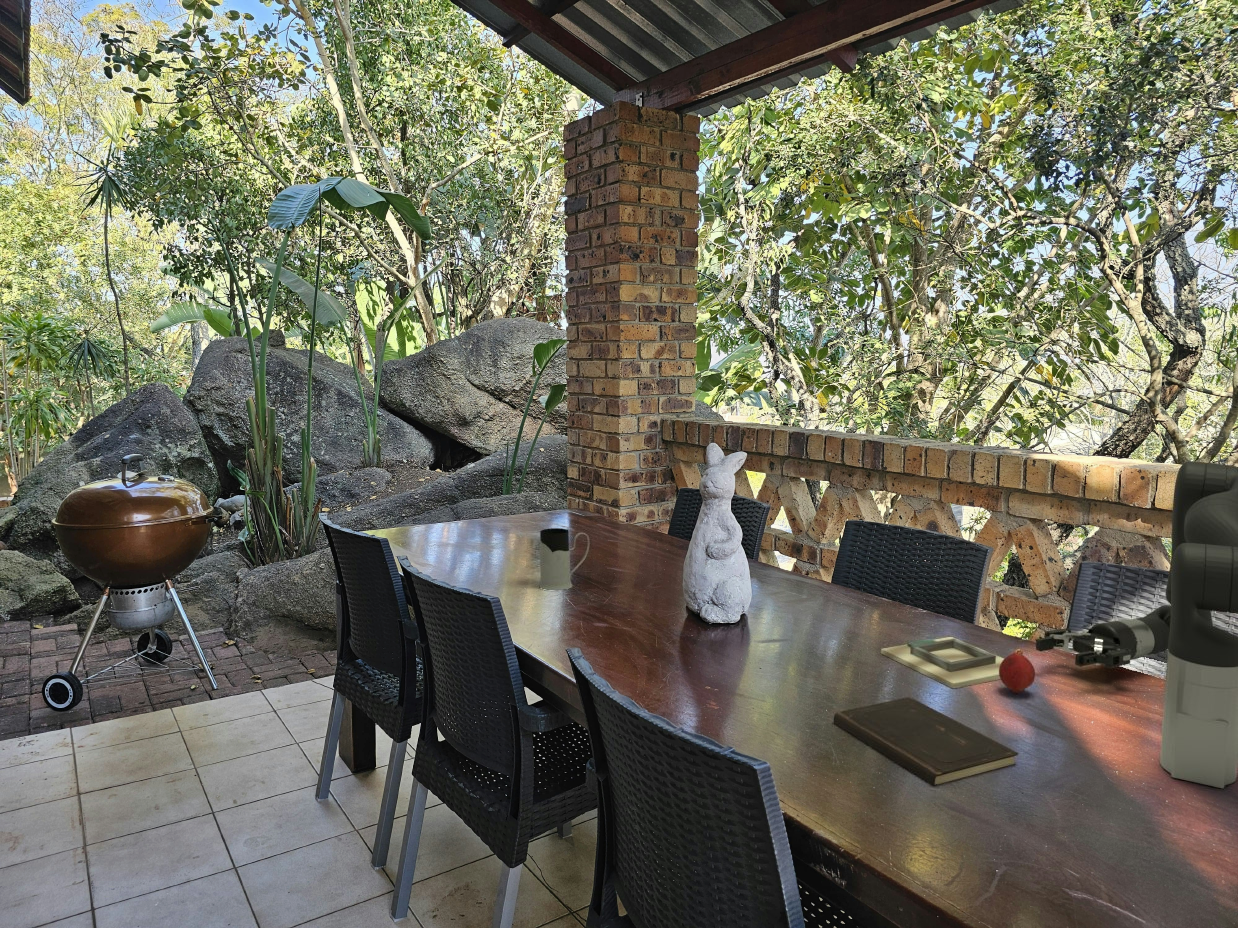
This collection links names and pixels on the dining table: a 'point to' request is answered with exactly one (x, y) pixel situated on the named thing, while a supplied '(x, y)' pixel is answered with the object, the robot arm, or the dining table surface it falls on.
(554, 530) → the glass holder
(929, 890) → the dining table surface
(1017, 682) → the onion
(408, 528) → the dining table surface
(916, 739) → the hardcover book
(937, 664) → the cradle board
